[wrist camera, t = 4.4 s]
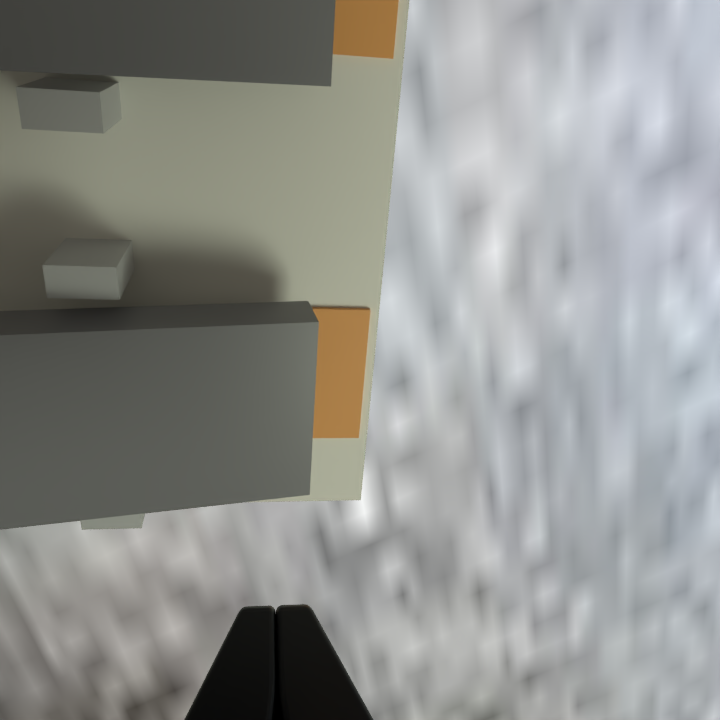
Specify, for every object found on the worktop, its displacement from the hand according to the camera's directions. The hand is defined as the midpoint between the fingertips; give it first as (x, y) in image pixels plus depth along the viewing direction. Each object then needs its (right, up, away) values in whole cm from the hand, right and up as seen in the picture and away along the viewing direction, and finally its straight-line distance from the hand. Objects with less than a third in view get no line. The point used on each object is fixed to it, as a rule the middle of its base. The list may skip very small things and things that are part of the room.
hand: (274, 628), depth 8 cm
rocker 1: (-4, +2, +5) cm, 7 cm away
